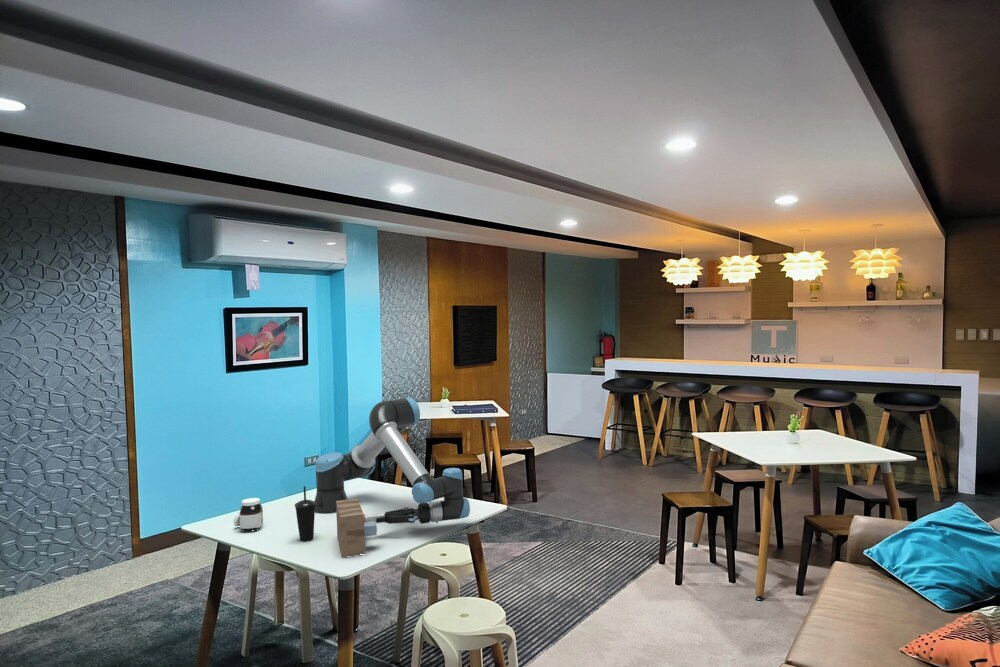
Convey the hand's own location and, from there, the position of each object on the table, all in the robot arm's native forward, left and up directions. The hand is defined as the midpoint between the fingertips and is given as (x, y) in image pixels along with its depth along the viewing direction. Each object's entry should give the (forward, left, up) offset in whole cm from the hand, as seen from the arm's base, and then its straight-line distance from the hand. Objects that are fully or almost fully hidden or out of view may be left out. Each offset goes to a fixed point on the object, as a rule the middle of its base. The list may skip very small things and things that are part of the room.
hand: (367, 520), depth 238 cm
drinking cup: (-9, -22, -7) cm, 24 cm away
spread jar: (-33, -44, -7) cm, 55 cm away
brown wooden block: (+5, -7, -7) cm, 11 cm away
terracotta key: (0, -3, -2) cm, 4 cm away
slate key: (+11, -1, -2) cm, 11 cm away
